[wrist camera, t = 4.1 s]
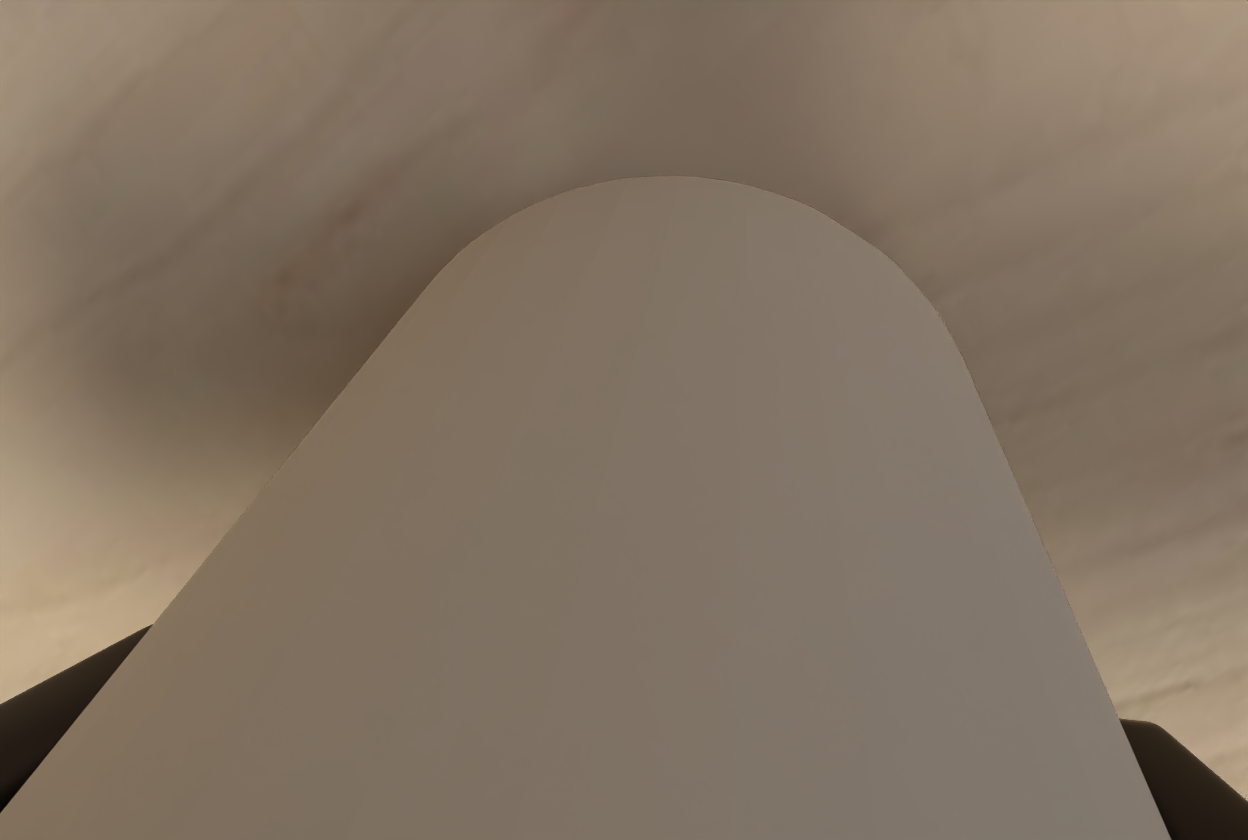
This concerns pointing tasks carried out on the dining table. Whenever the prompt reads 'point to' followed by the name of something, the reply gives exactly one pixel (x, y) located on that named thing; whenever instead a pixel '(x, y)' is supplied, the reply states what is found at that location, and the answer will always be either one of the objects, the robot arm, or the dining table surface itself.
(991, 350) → the dining table surface
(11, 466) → the dining table surface
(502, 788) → the beverage can
